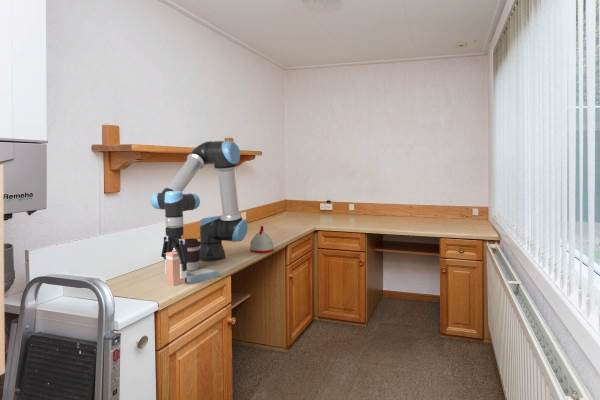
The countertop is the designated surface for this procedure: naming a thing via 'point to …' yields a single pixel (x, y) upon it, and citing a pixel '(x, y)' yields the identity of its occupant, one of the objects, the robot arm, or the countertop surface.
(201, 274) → the board
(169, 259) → the pink rectangular box
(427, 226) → the countertop surface
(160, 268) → the countertop surface
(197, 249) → the coffee cup
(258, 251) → the grey dome
